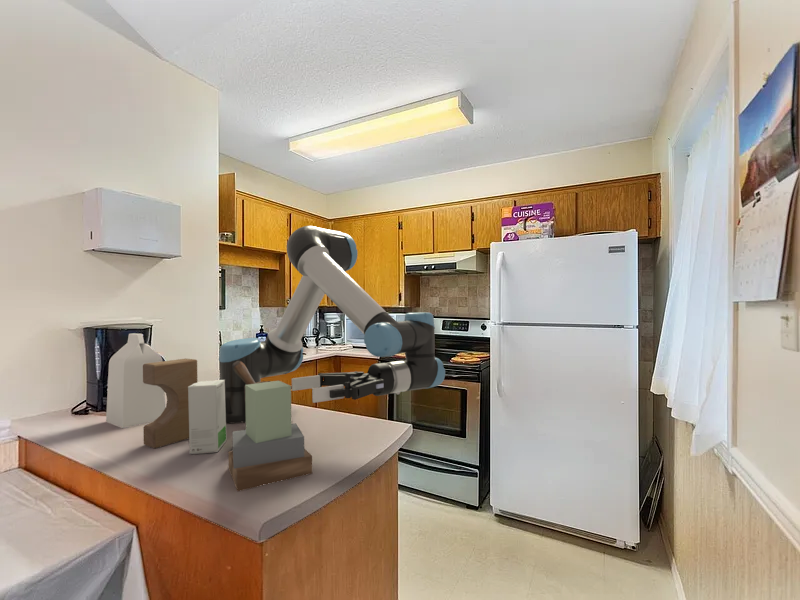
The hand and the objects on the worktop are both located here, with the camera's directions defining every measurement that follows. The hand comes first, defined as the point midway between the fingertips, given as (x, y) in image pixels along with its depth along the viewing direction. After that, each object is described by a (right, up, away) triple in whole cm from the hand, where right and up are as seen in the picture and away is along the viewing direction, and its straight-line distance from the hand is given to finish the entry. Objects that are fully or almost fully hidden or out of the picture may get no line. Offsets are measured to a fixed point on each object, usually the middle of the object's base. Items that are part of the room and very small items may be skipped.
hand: (301, 389), depth 85 cm
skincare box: (-25, -16, +10) cm, 32 cm away
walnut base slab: (-6, -16, -4) cm, 18 cm away
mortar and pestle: (-16, -16, +18) cm, 29 cm away
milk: (-59, -17, +35) cm, 70 cm away
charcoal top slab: (-6, -12, -4) cm, 14 cm away
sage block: (-6, -8, -4) cm, 11 cm away
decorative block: (-37, -17, +16) cm, 43 cm away
